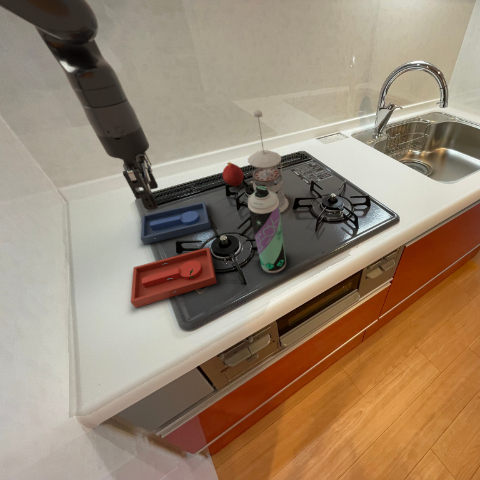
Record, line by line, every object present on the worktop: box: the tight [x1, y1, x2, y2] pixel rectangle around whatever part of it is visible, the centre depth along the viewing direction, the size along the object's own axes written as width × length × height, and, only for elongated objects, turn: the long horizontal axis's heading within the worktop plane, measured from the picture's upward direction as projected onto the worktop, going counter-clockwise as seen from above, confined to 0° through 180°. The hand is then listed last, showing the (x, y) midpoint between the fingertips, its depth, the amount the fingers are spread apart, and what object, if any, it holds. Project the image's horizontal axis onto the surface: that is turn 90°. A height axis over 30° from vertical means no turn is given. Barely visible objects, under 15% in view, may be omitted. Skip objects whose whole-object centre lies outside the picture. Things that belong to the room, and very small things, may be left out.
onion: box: [222, 161, 245, 188], centre depth 79 cm, size 6×6×8 cm
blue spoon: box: [150, 211, 200, 230], centre depth 68 cm, size 11×4×2 cm, turn 113°
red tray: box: [130, 247, 218, 309], centre depth 56 cm, size 15×9×2 cm, turn 113°
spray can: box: [247, 185, 287, 274], centre depth 53 cm, size 6×6×20 cm
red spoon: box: [142, 261, 202, 288], centre depth 56 cm, size 11×4×2 cm, turn 113°
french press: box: [247, 109, 290, 214], centre depth 68 cm, size 10×12×25 cm
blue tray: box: [140, 201, 212, 246], centre depth 68 cm, size 15×9×2 cm, turn 113°
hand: (153, 197), depth 62 cm, fingers open, 8 cm apart
